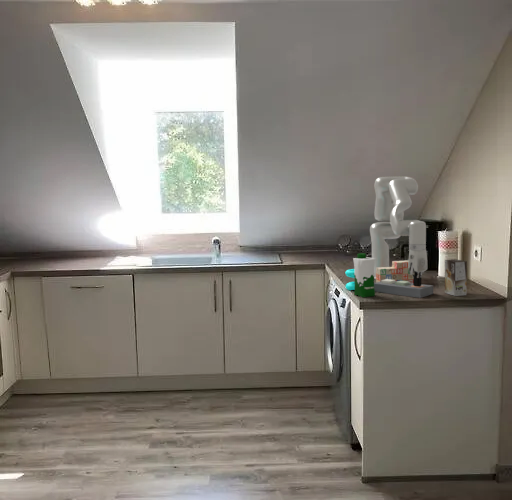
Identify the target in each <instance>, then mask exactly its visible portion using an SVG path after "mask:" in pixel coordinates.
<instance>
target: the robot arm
mask: <svg viewBox="0 0 512 500" xmlns="http://www.w3.org/2000/svg"><path fill="white" fill-rule="evenodd" d="M373 188H374V191H375V203H374V213H373V214H374V215H373V216H374V220H376V221H378V222H374V223H372V224H371V225H370V227H369V235H370V241H371V258H374V259H376V260H375V265H374V280H376V268H378V267H390V247H389V244H388V243H387V242H386V240H392V239H393V240H394V239H399V238H400V237H401V236H402V237H404V236H405V237H407V236H408V251H409V253H408V259H407V260H408V269H409V271H410V274H411V275H413V285H414V286H421V284H422V277H423V274H424V273H425V271H427V270H428V253H427V248H426V247H427V245H426V244H427V243H426V242H427V224H426V222H425V221H421V220H419V219H404V217H405V216H404V215H405V211H406V210H408V209H410V208H411V206H412V203H413V201H412V199H411V196H412V195H413V196H414V195H416V194H417V193H418V191H419V184H418V182H417V180H416V179H415V178H414V177H410V176H406V175H404V176H379V177H377V178H376V179H375V181H374V187H373Z"/></svg>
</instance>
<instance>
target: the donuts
mask: <svg viewBox="0 0 512 500" xmlns="http://www.w3.org/2000/svg"><path fill="white" fill-rule="evenodd" d="M345 276H346V277H348V278H351V279H355V270H354V268H351V269H346V271H345ZM345 289H346V290H347V291H351V290H355V281H350V282H348V283H346V284H345Z"/></svg>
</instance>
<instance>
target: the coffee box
mask: <svg viewBox="0 0 512 500" xmlns="http://www.w3.org/2000/svg"><path fill="white" fill-rule="evenodd" d="M467 266H468V262H467V261H466V260H461V259H457V258H456V259H455V258H454V259H444V293H445V294H448V295H451V296H453V297H454V296H455V297H460V296H461V297H462V296H467V281H468V280H467V279H468V278H467V277H468V276H467V274H468V273H467V272H468V267H467Z"/></svg>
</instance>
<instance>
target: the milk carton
mask: <svg viewBox="0 0 512 500" xmlns="http://www.w3.org/2000/svg"><path fill="white" fill-rule="evenodd" d="M352 259H353V260H352V261H353V269H354V270H355V278H354V282H355V291H353V292H354V294H353V295H354V296H356V295H358V296H357V297H360V296H361V297H360V298H369V297H376V292H375V289H374V283H375V279H374V265H375V260H376V259H374V258H372V257H367V253H366V252H365V253H363V252H362V253H361V252H360V253H359V252H358V253H357V254H356V257H355V258H354V257H353V258H352Z"/></svg>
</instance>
